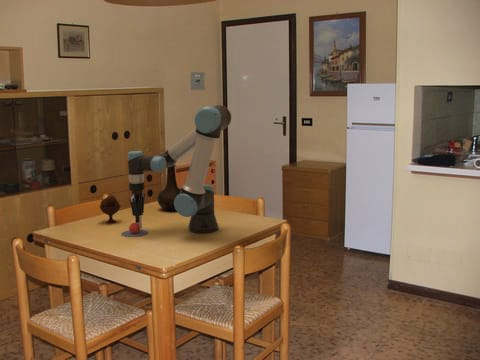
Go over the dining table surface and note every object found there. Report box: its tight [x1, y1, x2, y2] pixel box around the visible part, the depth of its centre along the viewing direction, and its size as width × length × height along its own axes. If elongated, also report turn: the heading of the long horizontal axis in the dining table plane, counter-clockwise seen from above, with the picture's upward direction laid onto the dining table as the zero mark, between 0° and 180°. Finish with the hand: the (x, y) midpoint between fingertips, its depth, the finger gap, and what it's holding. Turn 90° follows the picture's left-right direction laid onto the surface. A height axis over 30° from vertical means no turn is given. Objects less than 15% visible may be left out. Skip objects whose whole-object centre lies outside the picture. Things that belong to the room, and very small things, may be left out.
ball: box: [128, 222, 141, 234], centre depth 283 cm, size 6×6×6 cm
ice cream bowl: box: [99, 194, 122, 224], centre depth 306 cm, size 11×11×15 cm
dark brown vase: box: [157, 164, 181, 212], centre depth 333 cm, size 18×18×28 cm
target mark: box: [120, 229, 149, 238], centre depth 283 cm, size 13×13×1 cm
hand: (138, 228), depth 287 cm, fingers closed
